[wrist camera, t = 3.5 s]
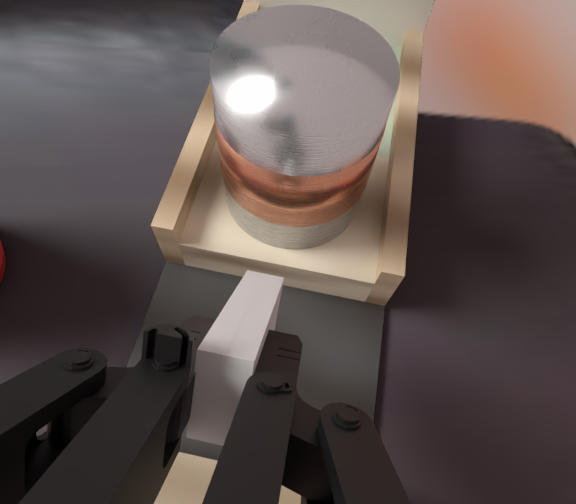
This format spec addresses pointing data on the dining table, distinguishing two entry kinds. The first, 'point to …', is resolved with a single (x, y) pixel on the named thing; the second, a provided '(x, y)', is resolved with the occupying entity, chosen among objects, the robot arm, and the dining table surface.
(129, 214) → the dining table surface
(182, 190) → the tray
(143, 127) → the dining table surface
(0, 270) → the canned food
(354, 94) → the tin
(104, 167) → the dining table surface
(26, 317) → the dining table surface
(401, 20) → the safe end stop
